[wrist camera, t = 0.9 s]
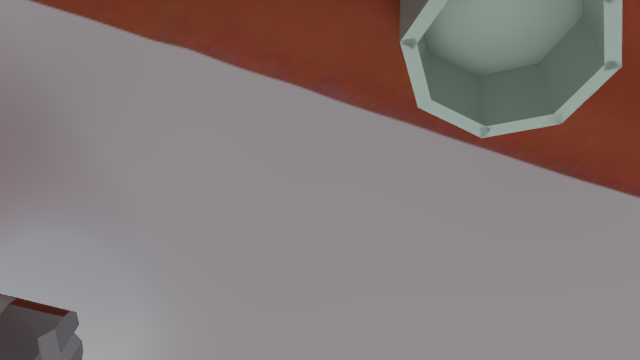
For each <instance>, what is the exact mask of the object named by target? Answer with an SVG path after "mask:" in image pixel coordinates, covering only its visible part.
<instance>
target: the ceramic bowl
mask: <svg viewBox="0 0 640 360" xmlns="http://www.w3.org/2000/svg"><path fill="white" fill-rule="evenodd" d="M400 44H401V47H402V51H403V55H404V58H405V62H406V66H407V69H408V73H409V76H410V80H411V84H412V87H413V91H414V95H415V98H416V102H417V107H418V108H420V109H422V110H424V111H426V112H429V113H431V114H433V115H435V116H437V117H439V118H441V119H443V120H445V121H447V122H449V123H451V124H453V125H456V126H458V127H460V128H462V129H464V130H466V131H468V132H470V133H472V134H474V135H476V136H478V137H481V138H485V137H490V136H496V135H502V134H507V133H513V132H518V131H524V130H530V129H535V128H541V127H546V126H552V125H557V124H562V123H563V122H564V121H565V120H566V119H567V118H568V117H569V116H570V115H571V114H572V113H573V112H574V111H575V110H576V109H577V108H578V107H579V106H581V105H582V104H583V103H584V102H585V101H586V100H587V99H588V98H589V97H590V96H591V95H592V94H593V93H594V92H595V91H596V90H597V89H599V88H600V87H601V86H602V85H603V84H604V83H605V82H606V81H607V80H608V79H609V78H610V77H611V76H612V75H613V74H614V73H615V72H616V71H618V70H619V69H620V68H621V67H622V0H400Z"/></svg>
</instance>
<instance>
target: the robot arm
mask: <svg viewBox="0 0 640 360" xmlns="http://www.w3.org/2000/svg"><path fill="white" fill-rule="evenodd" d="M78 325H79V322H78V318H77V313H76V312H73V311H69V310H65V309H61V308H57V307H53V306H48V305H44V304H40V303H36V302H32V301H28V300H24V299H20V298H16V297H12V296H7V295H2V294H0V360H82V354H83V347H82V341H81V340H80V338H79V337H78V336H77V335H75V333H74V332H75V330H76V329H77V327H78Z"/></svg>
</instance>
